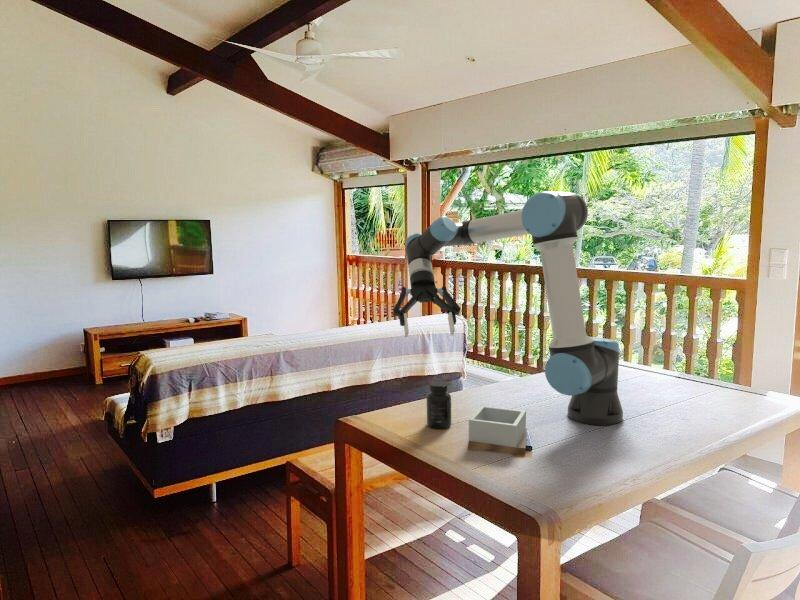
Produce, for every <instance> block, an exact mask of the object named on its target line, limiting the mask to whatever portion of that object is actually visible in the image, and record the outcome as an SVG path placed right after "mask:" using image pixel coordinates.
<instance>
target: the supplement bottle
mask: <svg viewBox="0 0 800 600" xmlns="http://www.w3.org/2000/svg"><path fill="white" fill-rule="evenodd" d="M426 425H427V426H428V427H429V428H430V429H434V430H445V429H449V428H450V427H451V425H452V396H451V394H450V393H449V392H448V383H446V382H444V381H434V382H433V381H432V382H431V383H430V384H429V392H428V394H427V395H426Z"/></svg>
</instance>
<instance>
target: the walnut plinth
mask: <svg viewBox="0 0 800 600" xmlns="http://www.w3.org/2000/svg"><path fill="white" fill-rule="evenodd" d="M526 435H528V428H527V427H526V431H525V433H524V435H523V436H522V438H521V440H520V441H519V443H518V445H517V446H516V447H509V446H502V445H495V444H488V443H481V442H474V441H469V440H468V442H467V450H468V451H479V452H489V453H491V452H493V453H502V454H503V453H504V454H514V455H526V450H525V449H527V448H526V447H527V446H526V445H527V438H526Z"/></svg>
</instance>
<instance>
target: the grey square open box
mask: <svg viewBox="0 0 800 600" xmlns="http://www.w3.org/2000/svg"><path fill="white" fill-rule="evenodd" d="M526 428H527V410H523V409H513V408H505V407H495V406H489V405H488V406H487V405H481V406H480V407H479V408H478V409H477V410H476V411H475V412H474V413H473V415H471V417H470V418H469V419H468V442H469V441H474V442H481V443H488V444H495V445H502V446H509V447H516V446H517V445H518V443H519V441H520V440H521V438H522V436H523V435H524V433H525V431H526Z"/></svg>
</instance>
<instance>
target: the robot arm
mask: <svg viewBox="0 0 800 600" xmlns="http://www.w3.org/2000/svg"><path fill="white" fill-rule="evenodd" d="M588 209H589V208H588V205H587V202H586V201H585V199H583V197H581V196H580V195H579V194H577V193H575V192H572V191H571V192H569V191H557V190H556V191H555V190H545V191H540V192H536V193H534V194H532V196H530V197H529V198H528V199H527V200H526V202H525V204H524V205H523V207H522V209H520V210H514V211H509V212H505V213H499V214H495V215H491V216H490V215H489V216H486V217H485V216H484V217H480V218H475V219H470V220H464V221H456V222H455V221H454V220H453V219H452V218H450V217H449V216H446V215H441V216H439V217H438V218H437V219H436V220H434V221H433V222H431V224H430V225H429V226H428V227H426V229H425V230H424V231H423V232H422V233H420V232H418V233H417V232H416V233H414V234H411V235H409V236H408V237H407V238H406V240H405V253H406V259H407V265H408V272H409V275H408V276H409V282H410V288H407V287H405V286H402V287H401V292H400V296H399V298H398V300H397V302H396V304H395V306H394V308H393V310H392V311H393V312H392V316H393V317H398V319H399V325H400V326H401V327H403V330H404V337H405V338H407V337H409V332H410V331H409V324H408V315H407V314H408V312H409V311H410V310H411V308H413V307H414V305H416V304H417V302H418V303H430V302H431V303H432V304H433V305H436V306H438V308H440V309H441V310H442V311H444V312H445V314H447V315H448V316H447V321H448V326H449V332H450V336H454V334H455V332H456V330H455V329H456V328H455V325H456V324H457V316H459V315H460V312H461V307H460V306H459V304H458V303H457V302H456V301H455V299H454V298H453V297H452V296H451V294H450V293H449V292H448V289H447V287H446V286H445V285H442V287H441V288H437V286H436V281H435V275H434V271H433V269H434V268H433V263H432V257H433V256H434V255H435V254H436V253H437V252H439V251H440V250H441V249H442V248H444V247H454V246H471V245H474V244H476V243H477V244H478V243H481V242H482V243H483V242H489V241H496V240H500V239H507V238H513V237H518V236H524V235H525V236H526V235H531V239H532V246H533V247H534V248H536V249H537V250H538V251H539V253H540V258H541V260H540V261H541V266H542V272H543V274H542V275H543V279H544V280H543V281H544V286H545V287H544V288H545V292H546V293H545V294H546V299H547V305H548V306H547V307H548V313H549V319H550V325H551V331H552V340H551V342H549V344H548V350H549V358H548V359H547V361H546V363H545V365H544V374H545V375H544V376H545V378H546V380H547V381H546V382H547V383H548V384H549V386H551V388H552V389H553V390H555V391H556V392H558V393H559V394H561V395H565V396H571V398H570V400H569V402H568V405H567V417H569V418H570V419H571V420H574V421H576V422H578V423H583V424H585V425H586V424H587V425H593V426H610V425H616V424H617V425H618V424H620V423H621V422H622V421H623V420H624V419H623V417H624V411H623V407H622V404H621V400H620V397H619V394H618V385H619V383H618V381H619V365H620V364H619V362H620V361H619V359H620V354H621V353H620V345H619V342H618V341H616V340H614V339H611V338H604V337H596V336H595V337H594V336H589V335H588V334H587V331H586V325H585V319H584V318H585V317H584V312H583V305H582V299H581V291H580V290H581V289H580V286H579V279H578V272H577V270H578V269H577V264H576V259H575V258H576V257H575V251H574V244H575V243H576V241H577V240H578V238H579V237H578V231H579V230H580V229H582V227H583V226H584V225H585V223H586V222H587V219H588V216H589V210H588ZM409 294H410V296H411V298H410V299H409V300H408V301H407V302H406V304H404V306H403V307H402V305H403V303H404V302H405V298H406V297H408V296H409ZM439 295H440V296H441V297H442V298H441V297H440V296H439Z"/></svg>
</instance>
